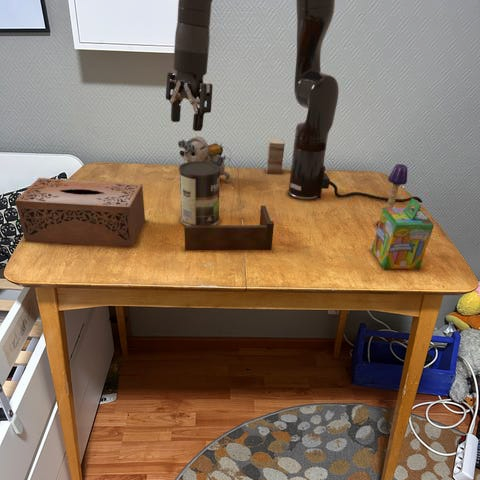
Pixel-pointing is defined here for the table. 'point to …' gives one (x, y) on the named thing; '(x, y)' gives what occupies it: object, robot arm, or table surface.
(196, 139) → the robotic toy
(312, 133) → the robot arm
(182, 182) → the coffee can
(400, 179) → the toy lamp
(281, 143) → the brown banded block
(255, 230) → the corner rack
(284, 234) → the table surface
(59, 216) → the tissue box cover
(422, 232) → the chalk box
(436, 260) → the table surface
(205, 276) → the table surface
